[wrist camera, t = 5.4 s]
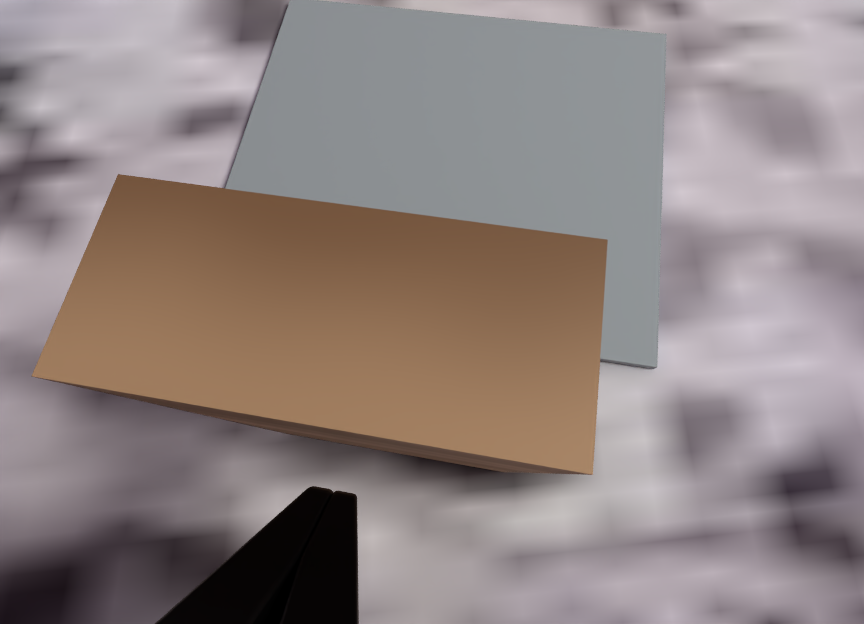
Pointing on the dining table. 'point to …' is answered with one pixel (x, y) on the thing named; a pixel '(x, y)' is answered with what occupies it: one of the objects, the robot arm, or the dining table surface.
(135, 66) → the dining table surface
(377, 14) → the mat
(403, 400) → the walnut block
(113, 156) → the dining table surface
